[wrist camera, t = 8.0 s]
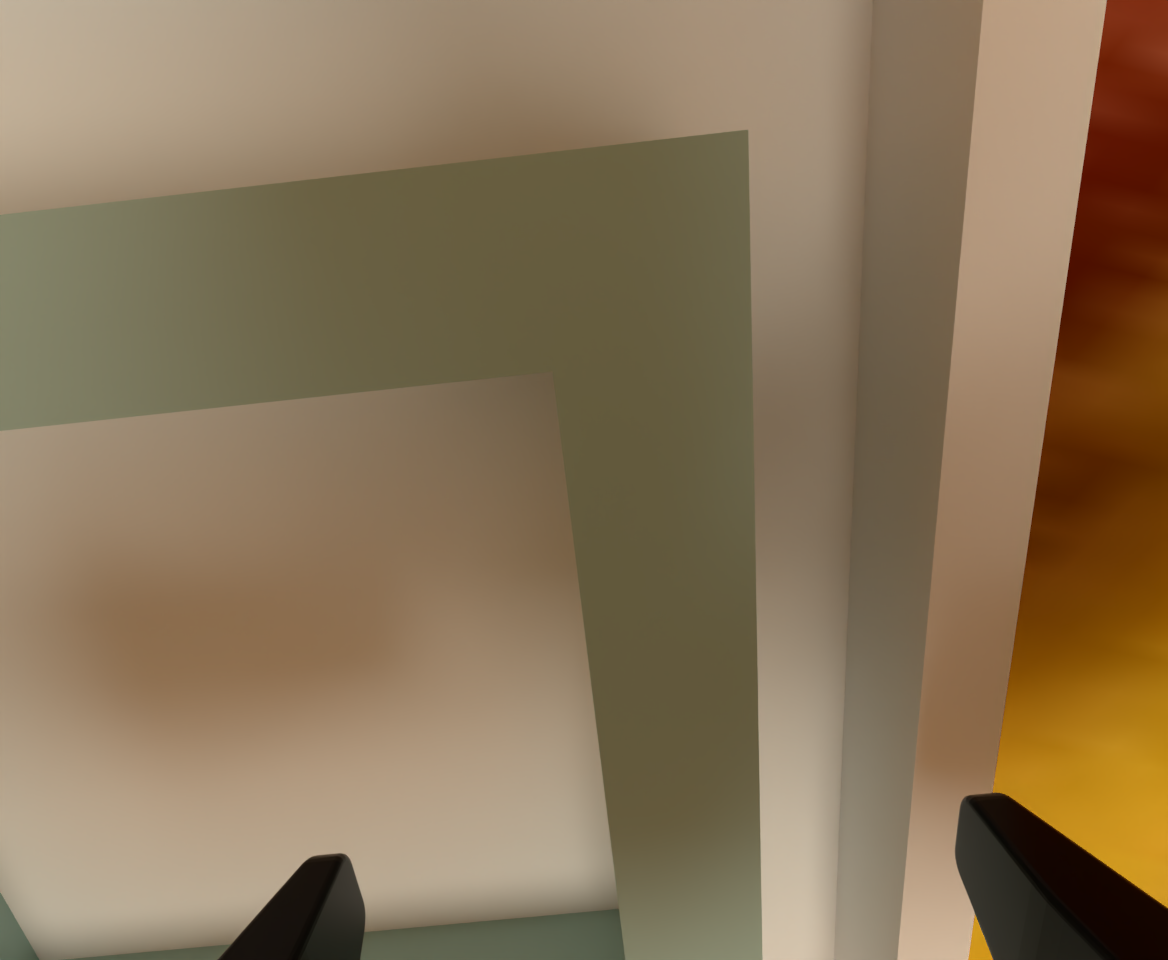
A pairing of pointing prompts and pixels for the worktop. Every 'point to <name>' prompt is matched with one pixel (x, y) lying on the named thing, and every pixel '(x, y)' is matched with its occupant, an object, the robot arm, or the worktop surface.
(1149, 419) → the worktop surface
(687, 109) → the tray
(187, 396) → the shallow green box
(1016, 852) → the robot arm
